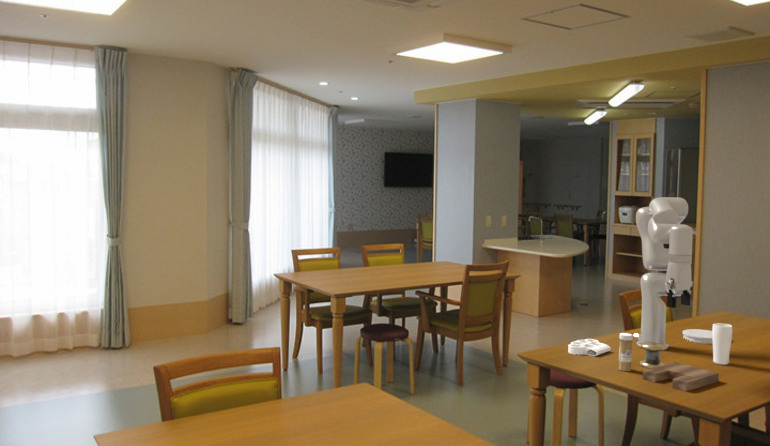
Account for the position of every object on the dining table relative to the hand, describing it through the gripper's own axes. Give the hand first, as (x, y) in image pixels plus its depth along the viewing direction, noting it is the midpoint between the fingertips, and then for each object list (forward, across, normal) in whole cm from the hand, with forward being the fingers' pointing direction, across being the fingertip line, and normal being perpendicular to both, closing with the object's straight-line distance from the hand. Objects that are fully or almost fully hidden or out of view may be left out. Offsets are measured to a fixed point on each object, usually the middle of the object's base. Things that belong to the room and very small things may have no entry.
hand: (678, 306), depth 225 cm
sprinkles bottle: (+25, +14, -12) cm, 31 cm away
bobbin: (+24, 0, -9) cm, 26 cm away
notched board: (+24, +8, +6) cm, 27 cm away
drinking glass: (+24, -26, +4) cm, 36 cm away
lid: (+24, -60, -19) cm, 67 cm away
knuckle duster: (+25, +2, -36) cm, 44 cm away
